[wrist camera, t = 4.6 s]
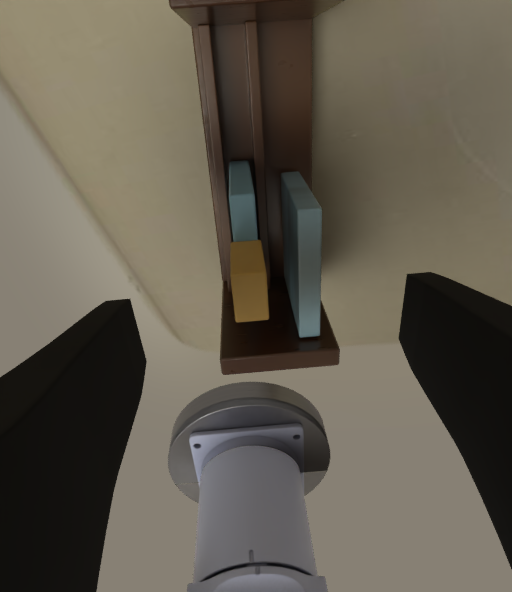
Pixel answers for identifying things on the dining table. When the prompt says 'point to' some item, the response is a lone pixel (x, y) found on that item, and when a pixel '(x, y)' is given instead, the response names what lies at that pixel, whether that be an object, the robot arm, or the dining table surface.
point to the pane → (246, 249)
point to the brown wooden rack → (265, 169)
